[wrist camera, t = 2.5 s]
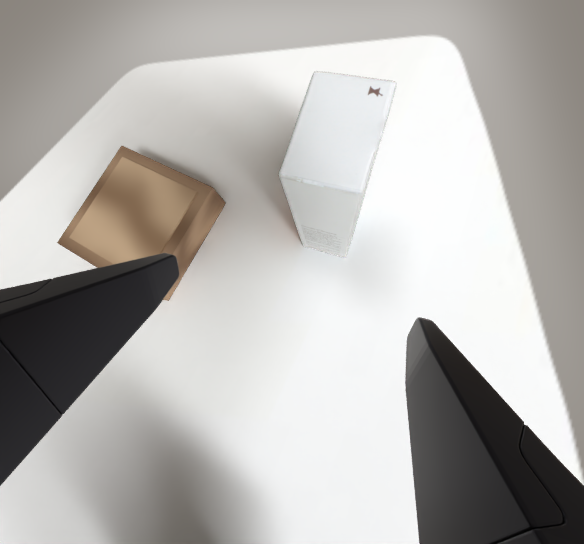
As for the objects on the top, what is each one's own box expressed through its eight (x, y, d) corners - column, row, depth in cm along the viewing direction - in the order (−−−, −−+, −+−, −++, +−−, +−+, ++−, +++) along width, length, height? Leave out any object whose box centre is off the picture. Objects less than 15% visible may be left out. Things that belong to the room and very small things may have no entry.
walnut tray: (168, 300, 24) (145, 297, 21) (87, 251, 26) (55, 242, 23) (225, 203, 25) (211, 186, 22) (143, 164, 27) (120, 144, 24)
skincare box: (319, 189, 24) (313, 65, 12) (363, 199, 23) (402, 77, 12) (300, 248, 23) (274, 173, 11) (345, 260, 22) (367, 194, 11)
